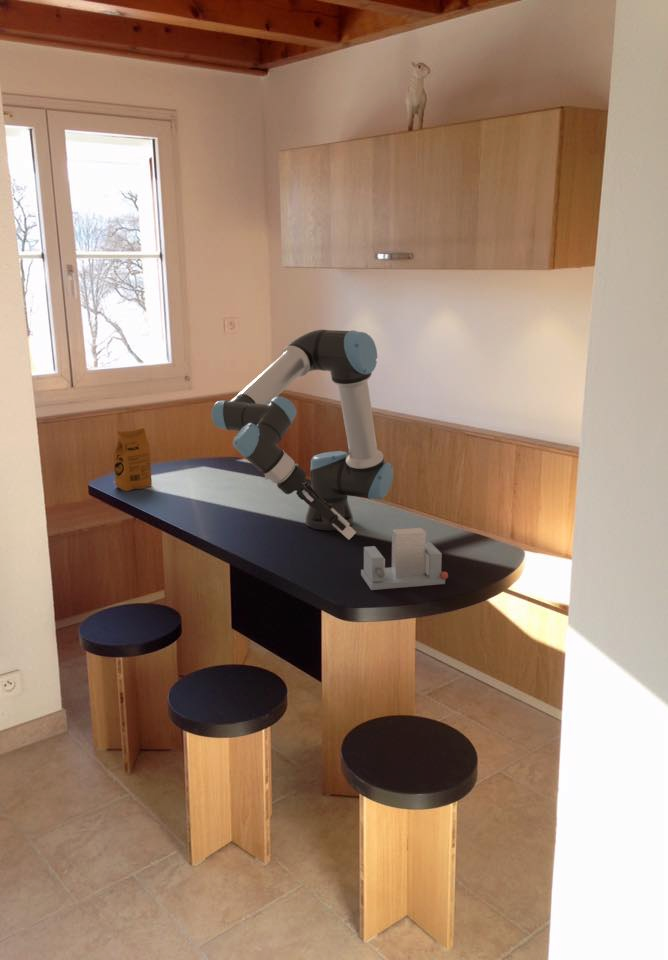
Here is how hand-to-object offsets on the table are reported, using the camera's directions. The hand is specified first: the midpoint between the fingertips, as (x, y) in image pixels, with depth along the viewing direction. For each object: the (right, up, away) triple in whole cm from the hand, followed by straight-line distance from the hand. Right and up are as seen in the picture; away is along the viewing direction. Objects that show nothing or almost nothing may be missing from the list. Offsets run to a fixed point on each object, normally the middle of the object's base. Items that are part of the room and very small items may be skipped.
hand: (349, 531), depth 221 cm
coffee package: (-79, +10, +98) cm, 126 cm away
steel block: (+16, -12, +6) cm, 21 cm away
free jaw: (+7, -12, +3) cm, 14 cm away
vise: (+14, -13, +7) cm, 21 cm away
